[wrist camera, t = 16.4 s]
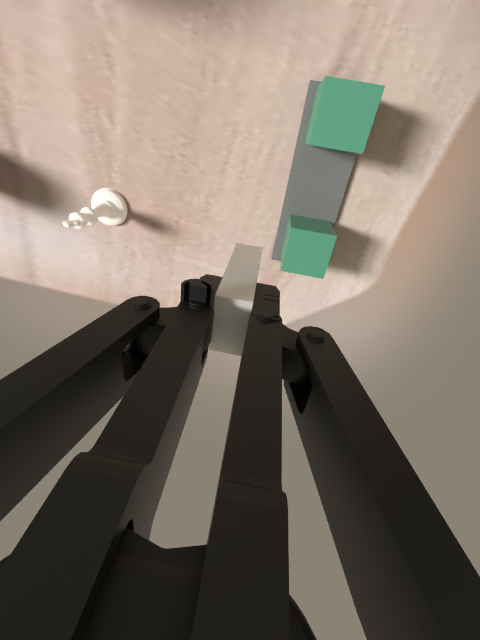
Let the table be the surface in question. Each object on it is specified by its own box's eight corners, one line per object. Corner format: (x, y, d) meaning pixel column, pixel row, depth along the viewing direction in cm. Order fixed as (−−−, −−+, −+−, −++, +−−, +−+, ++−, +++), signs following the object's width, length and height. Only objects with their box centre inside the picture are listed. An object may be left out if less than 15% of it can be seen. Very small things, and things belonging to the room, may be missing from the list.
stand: (271, 257, 42) (270, 278, 36) (309, 80, 32) (316, 68, 25) (320, 266, 42) (326, 288, 36) (375, 91, 31) (397, 81, 25)
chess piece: (130, 225, 42) (92, 248, 34) (97, 224, 43) (52, 245, 34) (124, 188, 40) (81, 203, 31) (89, 187, 40) (38, 200, 32)
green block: (280, 252, 41) (280, 270, 36) (289, 214, 38) (291, 227, 33) (317, 259, 41) (323, 278, 35) (329, 221, 38) (337, 236, 33)
